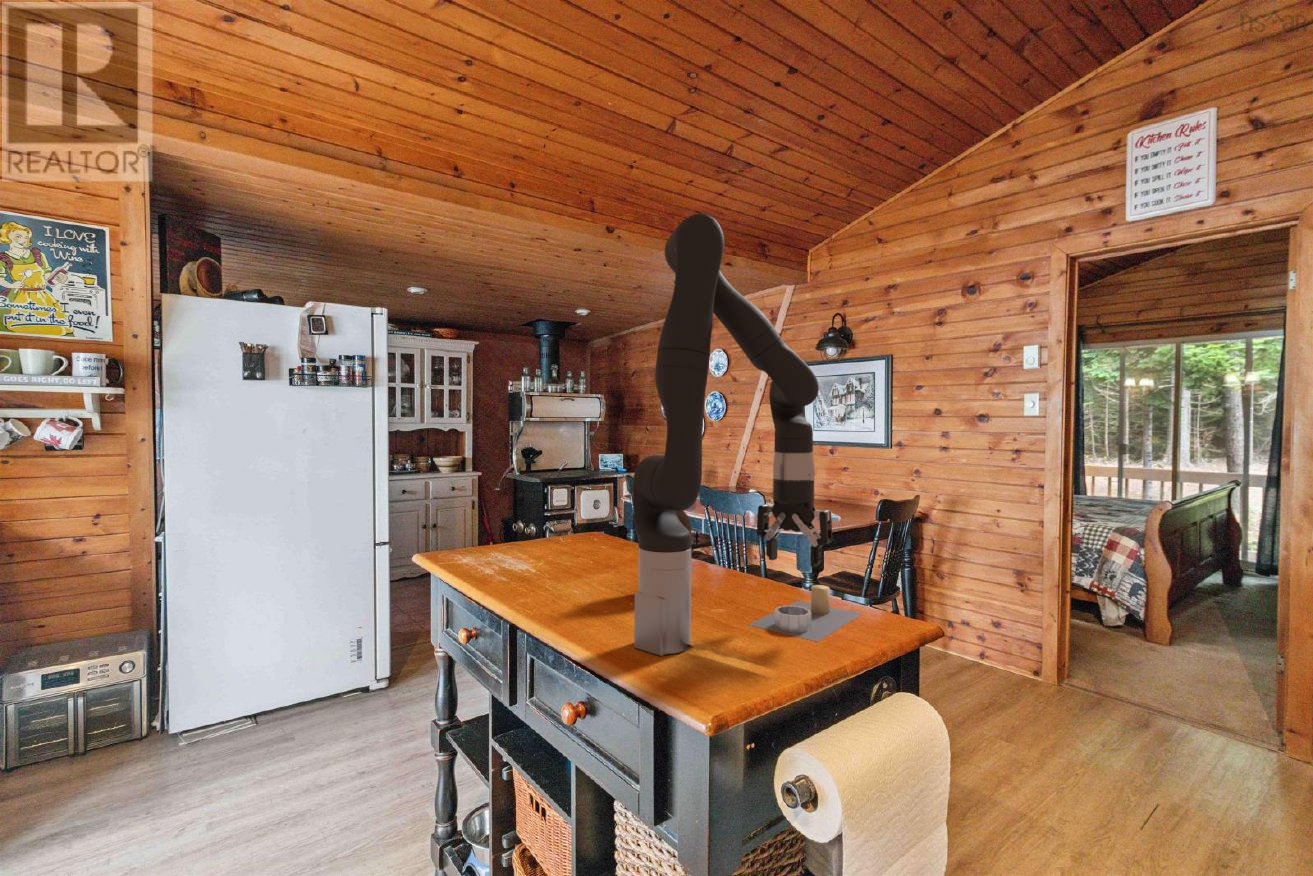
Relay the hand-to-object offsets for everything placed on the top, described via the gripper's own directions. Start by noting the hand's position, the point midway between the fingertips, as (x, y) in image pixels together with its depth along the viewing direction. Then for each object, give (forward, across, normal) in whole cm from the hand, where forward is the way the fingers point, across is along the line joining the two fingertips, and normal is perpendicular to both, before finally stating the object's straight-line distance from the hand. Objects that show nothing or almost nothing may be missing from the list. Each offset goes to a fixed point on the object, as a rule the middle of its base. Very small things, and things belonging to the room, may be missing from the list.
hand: (793, 562), depth 113 cm
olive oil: (+13, -34, +5) cm, 37 cm away
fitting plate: (+13, 0, +6) cm, 14 cm away
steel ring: (+12, 0, 0) cm, 12 cm away
